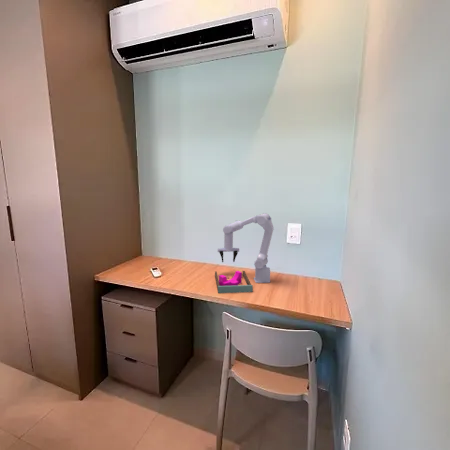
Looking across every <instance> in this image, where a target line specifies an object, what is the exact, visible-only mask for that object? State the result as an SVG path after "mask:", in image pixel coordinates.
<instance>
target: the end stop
mask: <svg viewBox="0 0 450 450" xmlns="http://www.w3.org/2000/svg"><path fill="white" fill-rule="evenodd" d="M253 286H254V285H252V284H251V285H247V284H244V285H243V284H238V285H233V286H218V290H217V293H218V294H233V293H234V294H236V293H253V291H254V290H253V288H254V287H253Z"/></svg>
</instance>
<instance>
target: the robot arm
mask: <svg viewBox="0 0 450 450" xmlns="http://www.w3.org/2000/svg"><path fill="white" fill-rule="evenodd" d="M251 223H254V224H258V225H259V226H260V227H262V228H263V230H264V232H263V236H262V242H261V244H260V250H259V253H258V255H257V257H256V260H255V261H254V264H253V265H254V267H255V268H254V270H255V271H254V272H255V274H254V277H253V280H254V282H255V283H256V284H262V283H263V284H264V283H265V284H266V283H271V268H270V267H269V266H267V265H268V261H269V260H268V257H269V256H268V252H269V249H270V248H269V247H270V244H271V240H272V236H273V232H274V225H273V222H272V217H271V216H270V215H269V214H268V213H267V212H265V213H264V212H263V213H262V214H257V215H253V216H250V217H249V218H246V219H244V220H235V221H234V222H230V223H228V224H227V225H225V226H223V229H222V232H223V233H224V235H223V236H224V237H223V239H224V241H223V243H224V244H223V246H224V247H222V248H221V247H220V248H217V253H219V254H220V258H221V262H222V263H224V252H229V253H231V252H232V253H233V254H232V255H233V257H232V258H233V259H232V261H233V263H235V260H236V258H237V256H238V253H239V252H240V248H239V247H234V245H233V244H234V241H233V240H234V232H237V231H240V230H242V229H243V228H244V227H245V226H246V225H249V224H251Z"/></svg>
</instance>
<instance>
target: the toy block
mask: <svg viewBox="0 0 450 450" xmlns="http://www.w3.org/2000/svg"><path fill="white" fill-rule="evenodd" d="M219 275H220V276H219V277H218V280H219V285H220V286H233V285H242V279H243V278H242V277H243V271H242V272H241V271H239V270H235V272H234V274H233V275H234V277H233V278H232V277H231V278H229V279H227V278H226V276H224V275H225V274H219Z"/></svg>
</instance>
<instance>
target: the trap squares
mask: <svg viewBox="0 0 450 450" xmlns="http://www.w3.org/2000/svg"><path fill="white" fill-rule="evenodd" d="M217 275H218V278H219V276H220V275H221V274H217ZM223 275H224V276H226V278H227V280H230V277H231V279H232V278H233V277H234V275H235V274H231V275H230V276H229V274H223ZM242 279H244V277H243V276H242Z"/></svg>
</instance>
